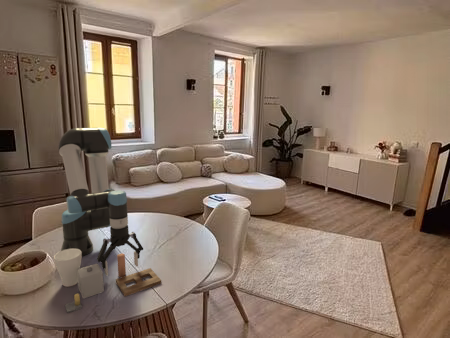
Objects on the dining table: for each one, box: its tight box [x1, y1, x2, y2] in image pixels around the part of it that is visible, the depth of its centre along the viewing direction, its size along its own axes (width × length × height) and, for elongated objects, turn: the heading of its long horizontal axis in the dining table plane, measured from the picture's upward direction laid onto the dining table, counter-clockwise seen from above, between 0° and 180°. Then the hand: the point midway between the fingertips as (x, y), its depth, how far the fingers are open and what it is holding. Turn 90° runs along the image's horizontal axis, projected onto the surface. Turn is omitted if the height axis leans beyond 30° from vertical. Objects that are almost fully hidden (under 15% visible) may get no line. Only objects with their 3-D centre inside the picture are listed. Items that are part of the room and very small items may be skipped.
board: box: [115, 267, 162, 297], centre depth 127 cm, size 12×16×2 cm
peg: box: [116, 253, 127, 278], centre depth 132 cm, size 3×3×10 cm
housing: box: [77, 262, 105, 299], centre depth 120 cm, size 8×8×10 cm
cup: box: [53, 249, 83, 288], centre depth 125 cm, size 10×10×14 cm
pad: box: [64, 293, 83, 314], centre depth 111 cm, size 5×5×5 cm
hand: (121, 269), depth 132 cm, fingers open, 13 cm apart
